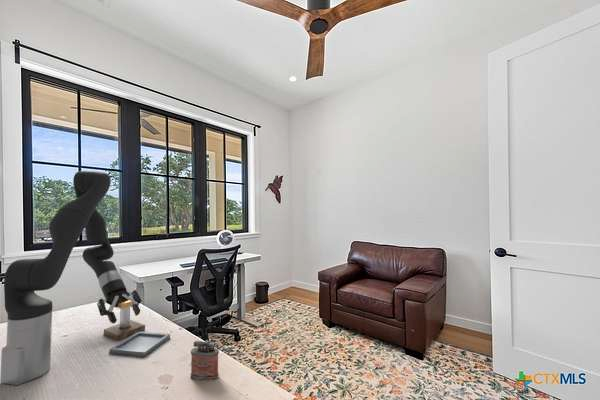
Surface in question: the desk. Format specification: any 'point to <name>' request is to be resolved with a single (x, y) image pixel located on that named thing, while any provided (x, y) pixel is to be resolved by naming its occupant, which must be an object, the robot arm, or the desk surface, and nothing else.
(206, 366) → the lighter
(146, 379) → the desk surface
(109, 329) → the socket plate
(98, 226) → the robot arm
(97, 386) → the desk surface
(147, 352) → the tray
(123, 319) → the key
